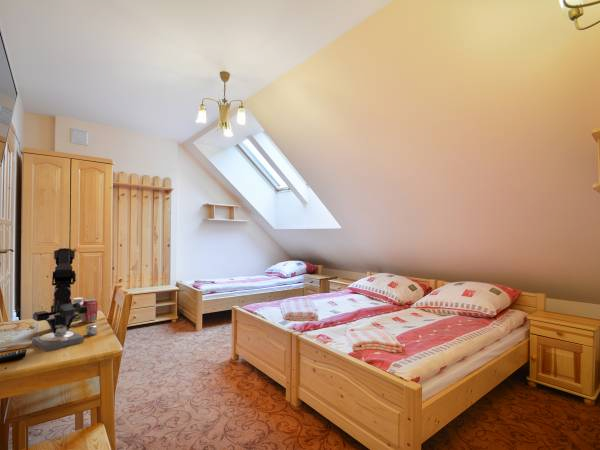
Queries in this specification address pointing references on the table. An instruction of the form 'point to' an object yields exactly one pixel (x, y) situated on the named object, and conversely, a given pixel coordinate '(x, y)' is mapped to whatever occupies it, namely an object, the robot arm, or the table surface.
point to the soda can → (90, 310)
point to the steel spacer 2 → (91, 330)
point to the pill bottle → (79, 300)
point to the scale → (57, 341)
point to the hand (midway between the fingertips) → (60, 332)
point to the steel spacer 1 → (60, 330)
